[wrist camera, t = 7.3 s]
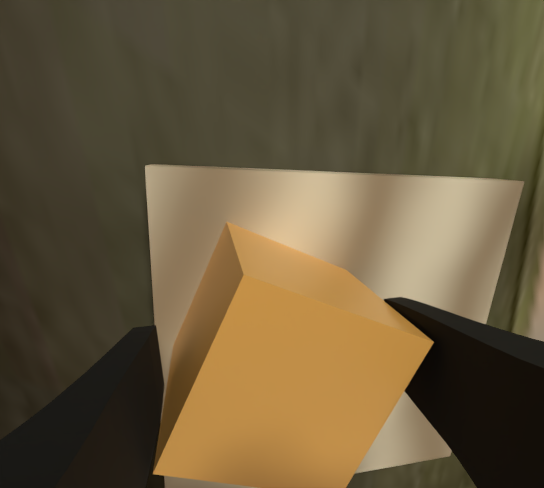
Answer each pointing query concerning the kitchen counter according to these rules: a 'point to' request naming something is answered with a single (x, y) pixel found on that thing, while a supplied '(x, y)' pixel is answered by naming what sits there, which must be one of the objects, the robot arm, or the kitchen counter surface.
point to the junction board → (337, 252)
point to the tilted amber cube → (281, 370)
